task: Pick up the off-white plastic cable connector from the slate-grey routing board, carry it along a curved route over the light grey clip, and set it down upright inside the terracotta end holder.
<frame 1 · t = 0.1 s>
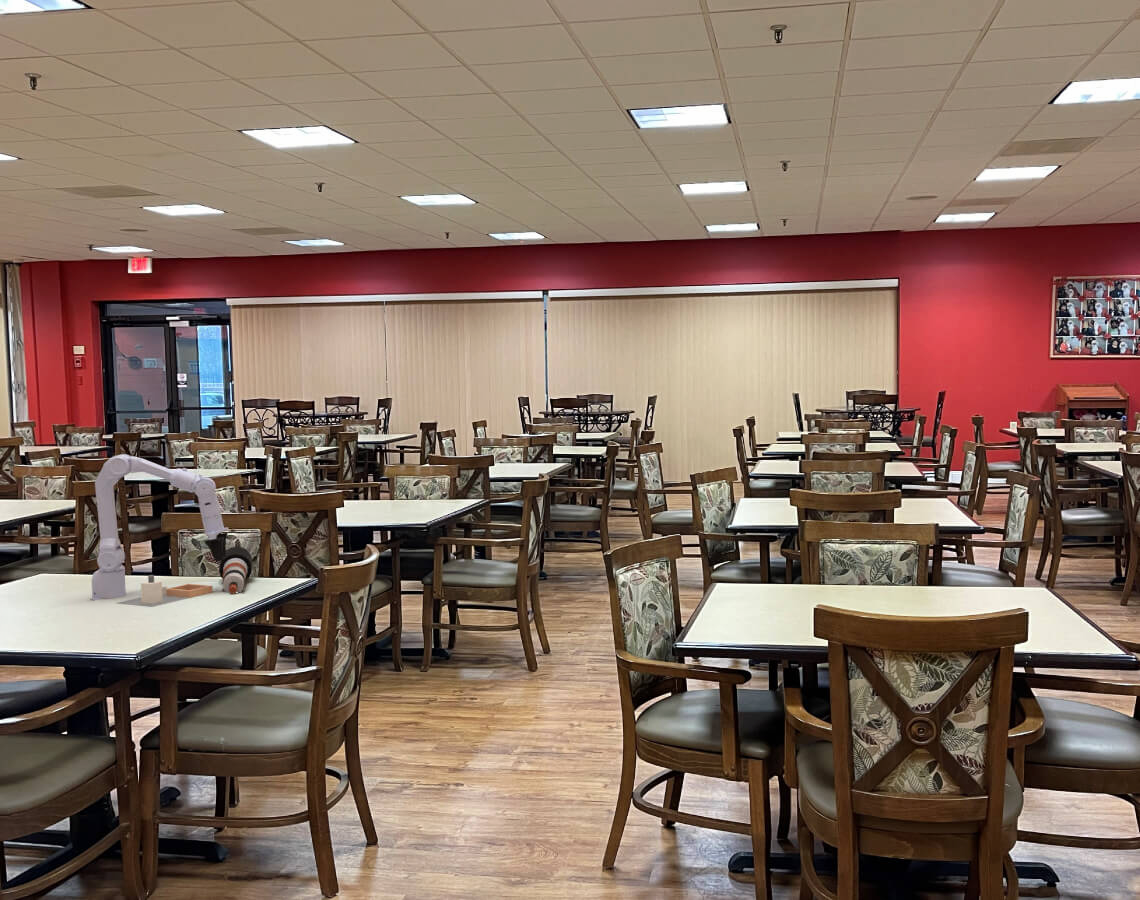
hand: (220, 559, 318), 11 cm above the table, tool pointing down, fingers open, 7 cm apart
end holder: (189, 597, 313), resting on route board
route board: (166, 600, 308), on the table
connector: (152, 602, 300), point 1 cm above the table, touching route board
cable: (235, 588, 327), on the table
clip: (156, 600, 309), resting on route board
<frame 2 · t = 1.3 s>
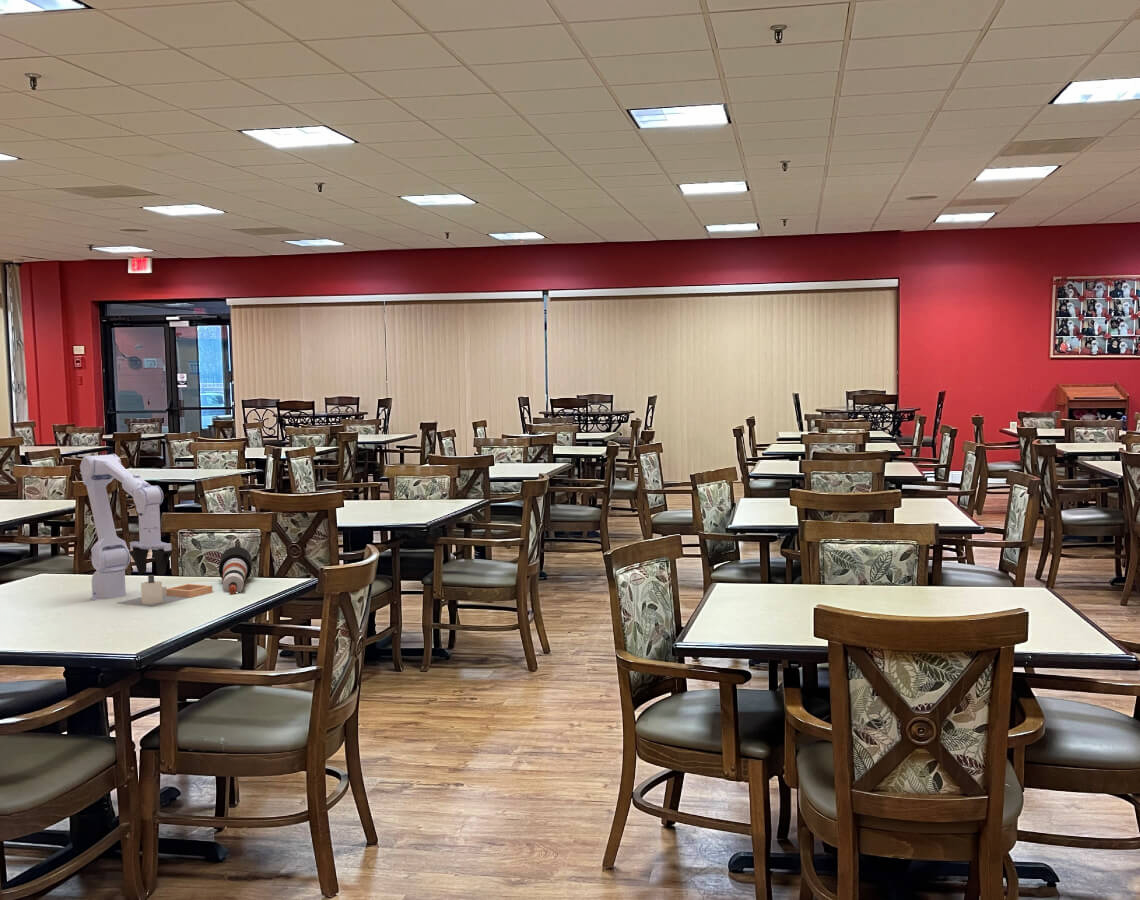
hand: (151, 574, 300), 9 cm above the table, tool pointing down, fingers open, 7 cm apart
nothing on the table moved.
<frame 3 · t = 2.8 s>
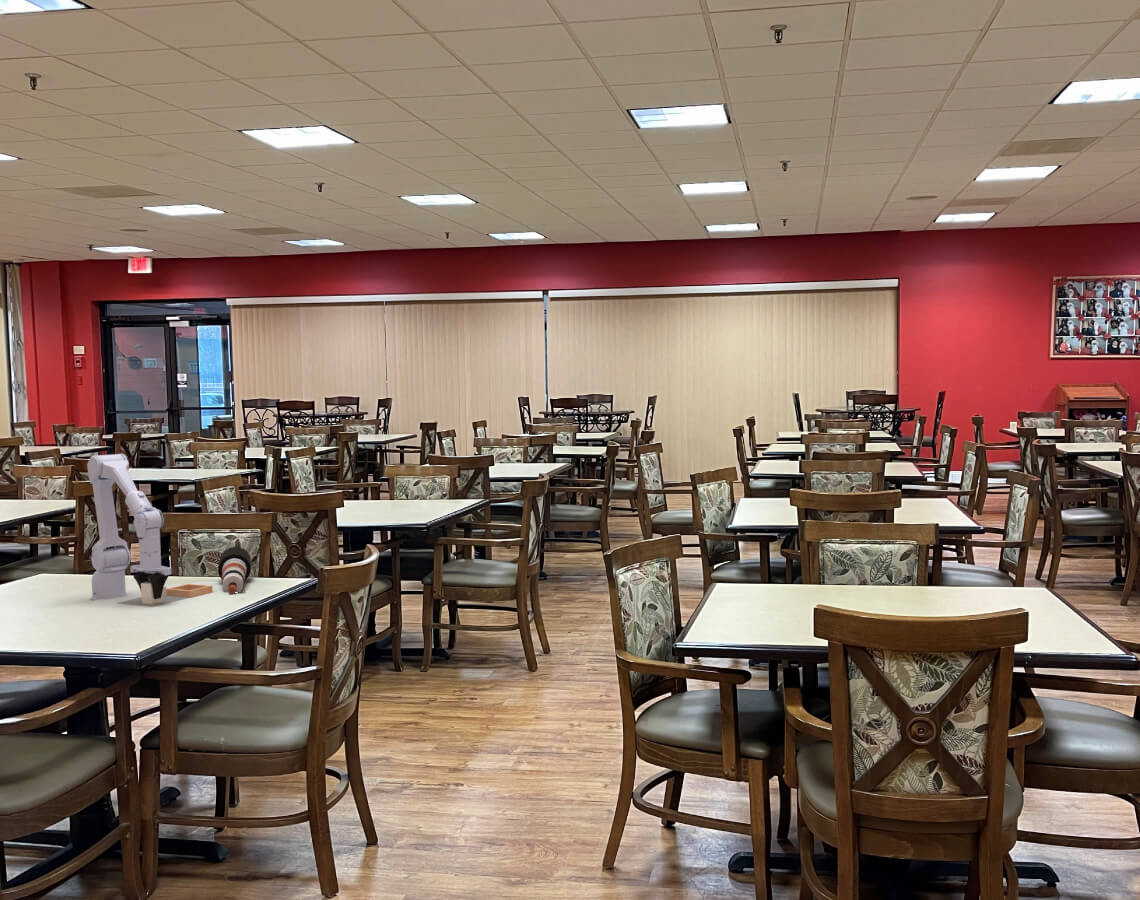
hand: (152, 597, 300), 2 cm above the table, tool pointing down, fingers closed on connector, 4 cm apart
connector: (152, 602, 300), point 1 cm above the table, touching gripper, route board
everything else where it was.
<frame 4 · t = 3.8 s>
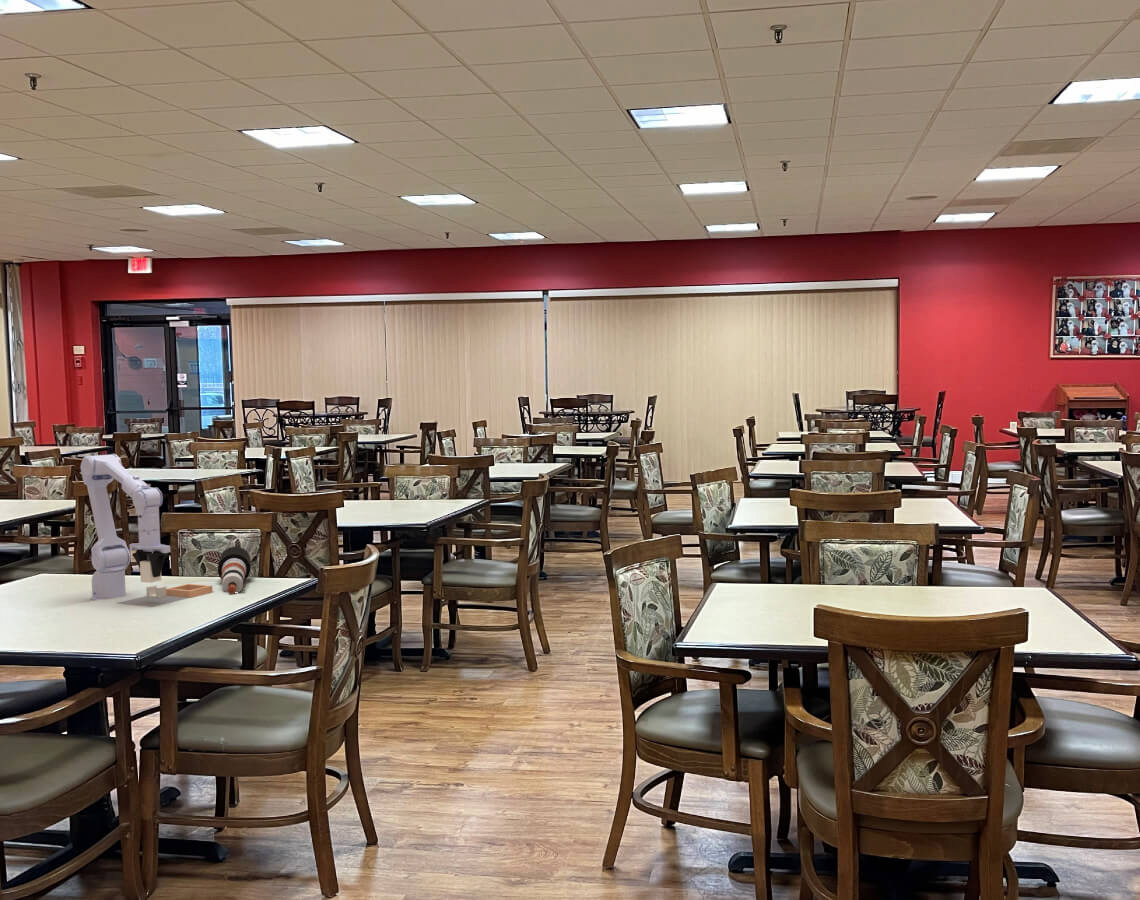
hand: (151, 576, 300), 9 cm above the table, tool pointing down, fingers closed on connector, 4 cm apart
connector: (151, 581, 300), point 7 cm above the table, touching gripper
everything else where it was.
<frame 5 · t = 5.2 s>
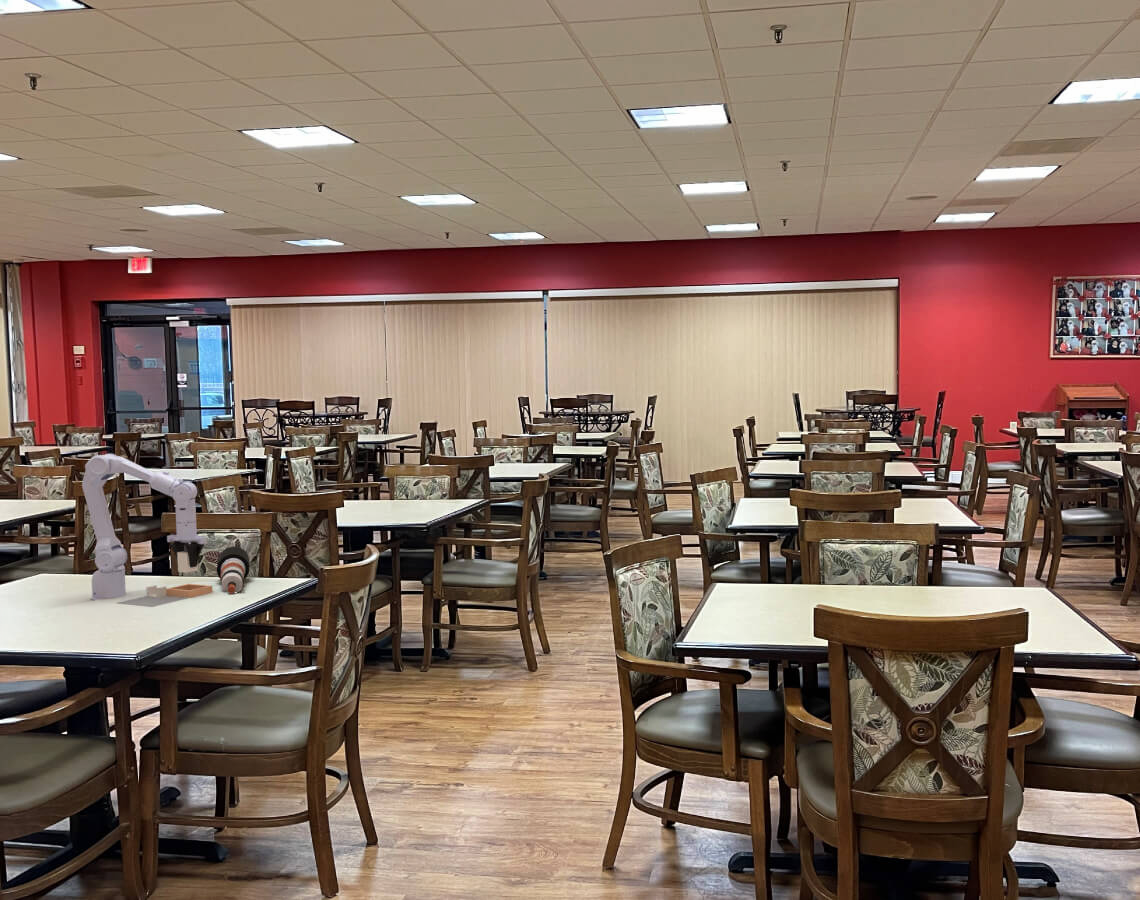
hand: (188, 566, 312), 9 cm above the table, tool pointing down, fingers closed on connector, 4 cm apart
connector: (188, 571, 312), point 8 cm above the table, touching gripper
everything else where it was.
when the fingers open (4 cm above the table, at t = 6.6 s): connector drops 1 cm, resting on route board.
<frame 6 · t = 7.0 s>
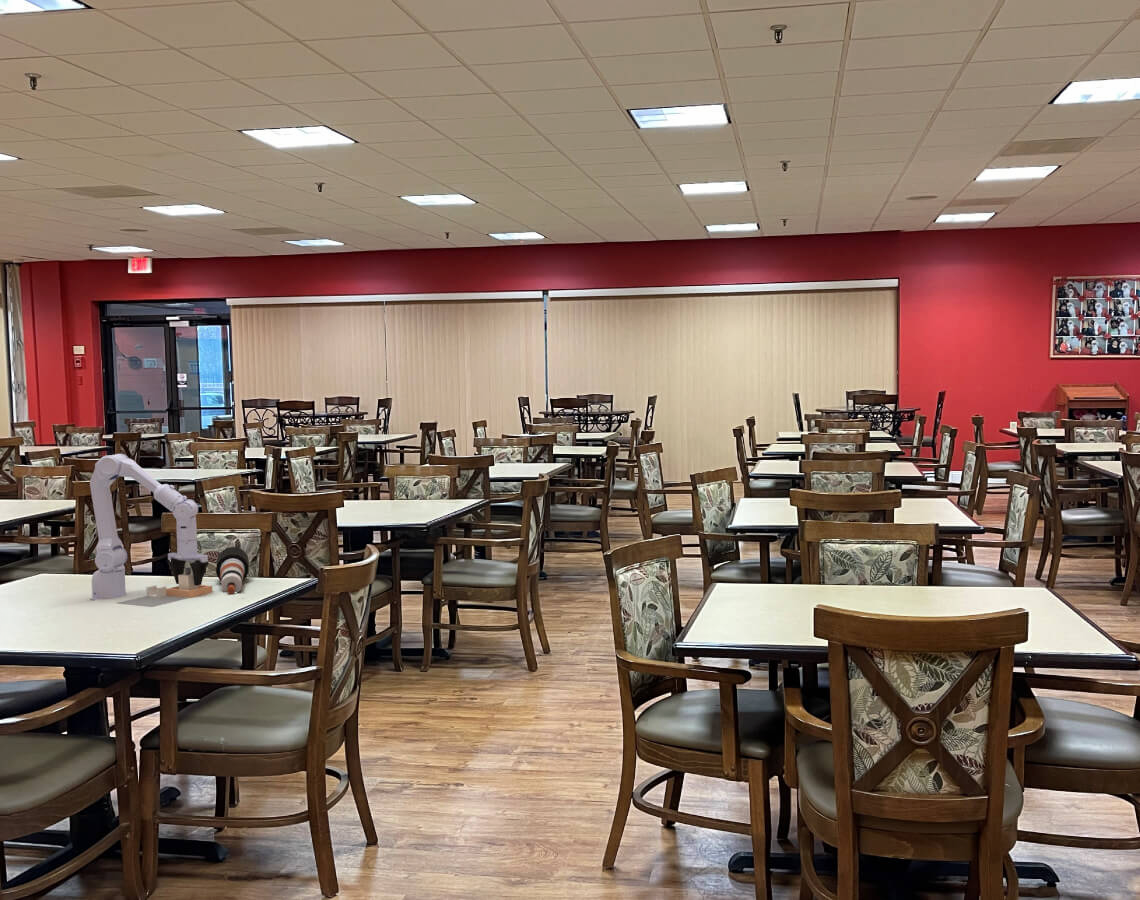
hand: (188, 584, 313), 4 cm above the table, tool pointing down, fingers open, 7 cm apart
connector: (189, 593, 313), point 1 cm above the table, touching route board
everything else where it was.
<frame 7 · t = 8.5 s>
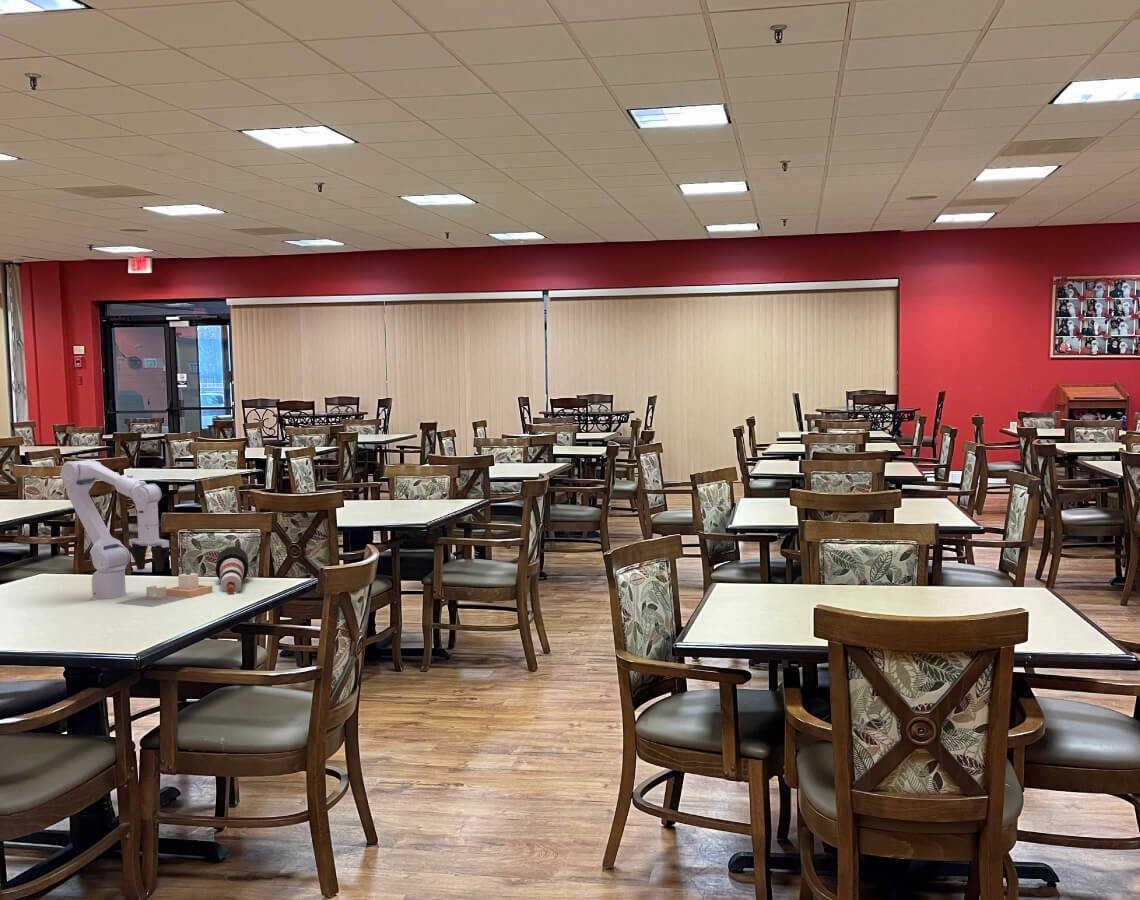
hand: (150, 570, 307), 9 cm above the table, tool pointing down, fingers open, 7 cm apart
nothing on the table moved.
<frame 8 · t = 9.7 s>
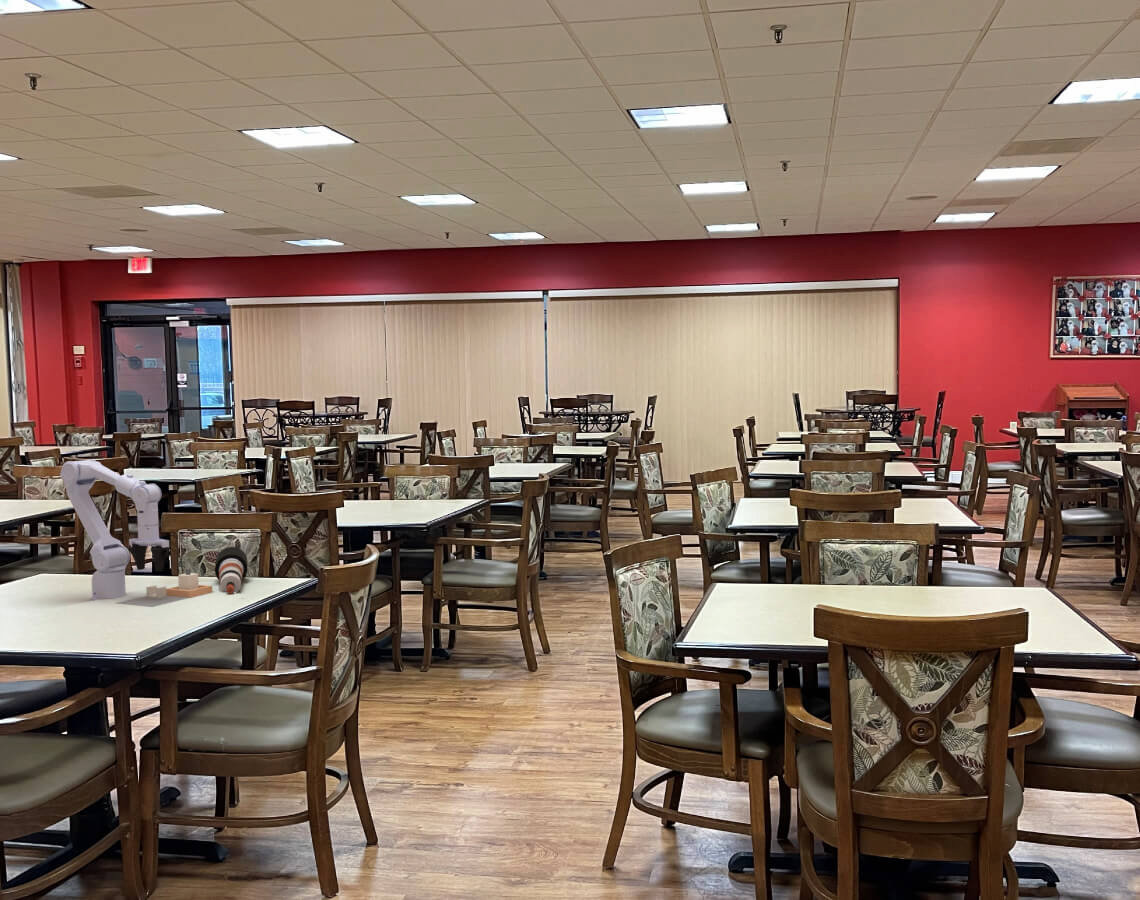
hand: (150, 570, 307), 9 cm above the table, tool pointing down, fingers open, 7 cm apart
at the end: connector 0.1 cm off-centre on the end holder, point 1.0 cm above the end holder's base; connector tilted 0°; the gripper is holding nothing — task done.
